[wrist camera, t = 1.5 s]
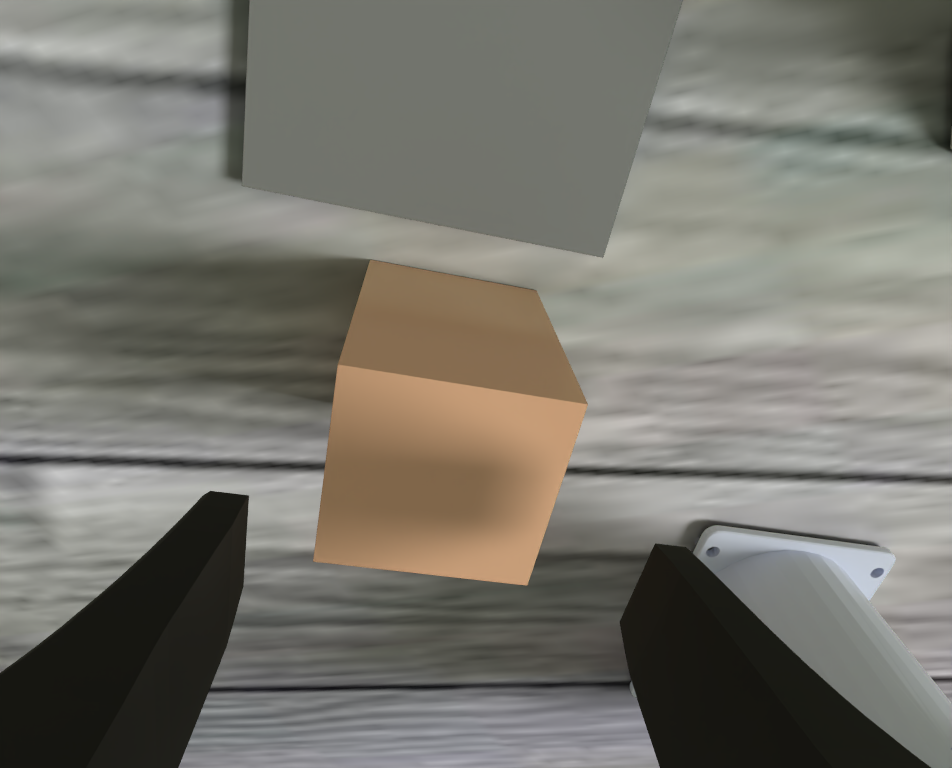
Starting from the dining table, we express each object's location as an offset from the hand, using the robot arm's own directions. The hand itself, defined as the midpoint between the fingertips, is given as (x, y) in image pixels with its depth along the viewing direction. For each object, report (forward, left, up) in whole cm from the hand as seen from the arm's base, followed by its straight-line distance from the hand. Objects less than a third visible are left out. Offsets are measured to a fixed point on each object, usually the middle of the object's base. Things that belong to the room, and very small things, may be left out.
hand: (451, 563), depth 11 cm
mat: (+9, +1, -10) cm, 13 cm away
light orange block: (0, 0, -10) cm, 10 cm away
